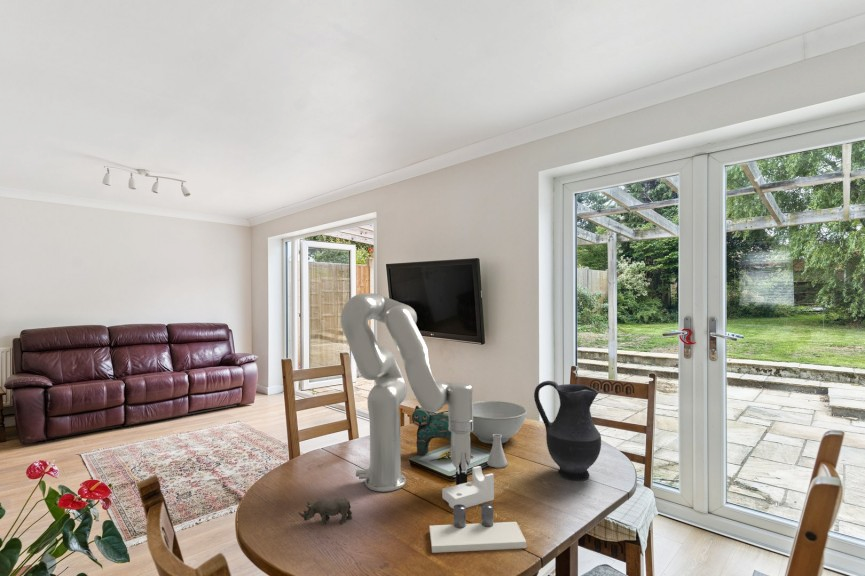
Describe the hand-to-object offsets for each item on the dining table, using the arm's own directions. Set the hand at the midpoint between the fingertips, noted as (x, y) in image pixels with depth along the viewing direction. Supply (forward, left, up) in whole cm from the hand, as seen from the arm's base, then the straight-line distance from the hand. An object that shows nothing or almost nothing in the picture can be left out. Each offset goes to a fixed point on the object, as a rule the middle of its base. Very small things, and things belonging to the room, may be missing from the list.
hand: (461, 485), depth 135 cm
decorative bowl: (+19, +44, -1) cm, 48 cm away
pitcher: (+36, +8, -1) cm, 37 cm away
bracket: (+1, -7, -2) cm, 7 cm away
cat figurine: (-4, +28, -1) cm, 29 cm away
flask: (+15, +18, -1) cm, 24 cm away
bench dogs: (0, -23, -1) cm, 23 cm away
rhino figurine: (-38, -15, -2) cm, 41 cm away
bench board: (0, -27, -1) cm, 27 cm away
